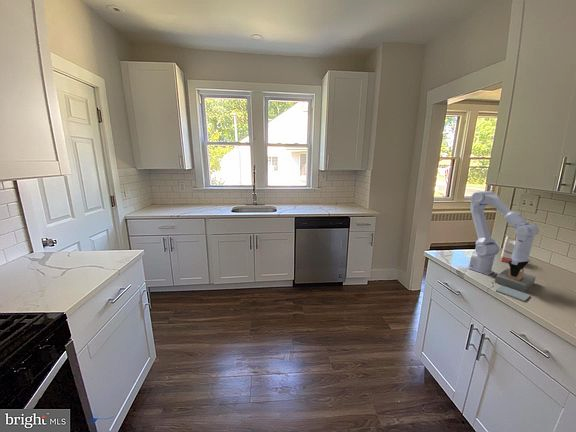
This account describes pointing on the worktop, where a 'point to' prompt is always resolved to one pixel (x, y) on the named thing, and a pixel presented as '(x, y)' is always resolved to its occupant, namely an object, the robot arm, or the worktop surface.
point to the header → (515, 281)
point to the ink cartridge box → (507, 250)
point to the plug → (517, 276)
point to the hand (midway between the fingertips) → (515, 274)
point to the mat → (513, 293)
